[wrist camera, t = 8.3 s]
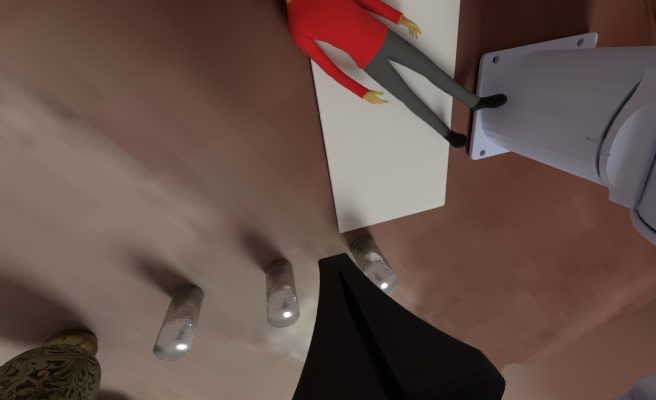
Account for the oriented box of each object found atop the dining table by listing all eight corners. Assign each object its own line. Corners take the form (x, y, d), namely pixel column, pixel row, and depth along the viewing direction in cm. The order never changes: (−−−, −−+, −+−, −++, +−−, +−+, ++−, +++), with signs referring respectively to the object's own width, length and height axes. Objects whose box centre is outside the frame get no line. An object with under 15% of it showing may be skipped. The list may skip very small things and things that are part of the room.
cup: (-7, 328, 20) (-142, 466, 14) (92, 298, 21) (11, 414, 14) (61, 377, 24) (-17, 504, 17) (144, 350, 25) (99, 461, 18)
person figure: (479, 159, 17) (194, -53, 10) (435, 156, 21) (200, 0, 13) (513, 87, 17) (250, -182, 10) (462, 97, 21) (242, -95, 13)
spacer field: (337, -203, 12) (380, -347, 8) (375, 253, 26) (399, 292, 21) (-138, -171, 10) (-445, -346, 6) (180, 308, 24) (162, 364, 19)
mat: (464, -103, 15) (468, -106, 14) (442, 203, 25) (444, 205, 24) (286, -81, 13) (287, -84, 13) (339, 231, 23) (340, 233, 23)
